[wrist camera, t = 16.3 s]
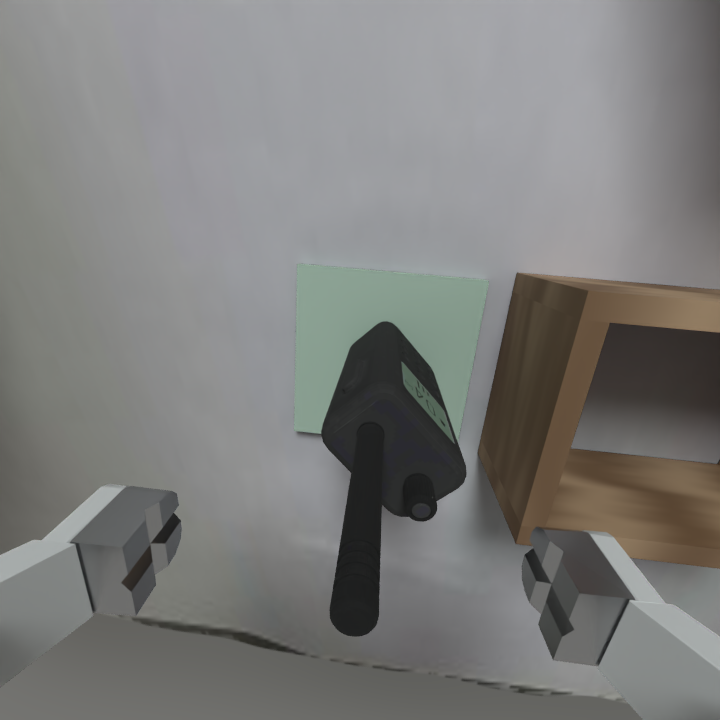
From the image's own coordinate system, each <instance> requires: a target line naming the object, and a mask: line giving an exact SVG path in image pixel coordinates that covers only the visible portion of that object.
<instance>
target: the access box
mask: <svg viewBox="0 0 720 720" xmlns="http://www.w3.org/2000/svg"><path fill="white" fill-rule="evenodd" d="M610 323H619V324H630V325H642V326H653V327H664V328H675V329H686V330H697V331H708V332H719V333H720V290H716V289H704V288H692V287H680V286H668V285H657V284H645V283H633V282H621V281H609V280H598V279H586V278H574V277H562V276H550V275H539V274H527V273H517V275H516V279H515V284H514V288H513V293H512V298H511V302H510V307H509V311H508V316H507V321H506V325H505V330H504V334H503V339H502V344H501V348H500V353H499V357H498V362H497V367H496V371H495V376H494V380H493V385H492V390H491V394H490V399H489V403H488V408H487V413H486V417H485V422H484V426H483V431H482V436H481V440H480V445H479V449H478V455H479V457H480V459H481V462H482V464H483V466H484V469H485V471H486V474H487V476H488V478H489V481H490V483H491V486H492V488H493V490H494V493H495V495H496V497H497V500H498V502H499V505H500V507H501V509H502V512H503V514H504V517H505V519H506V521H507V524H508V526H509V528H510V531H511V533H512V536H513V538H514V540H515V543H516V544H521V545H529V546H532V544H531V542H530V540H529V539H530V536H531V533H532V531H533V530H534V528H535V527H536V526H538V527H549V528H560V529H572V530H580V531H582V530H586V531H599V532H607V533H608V534H610V535H611V536H613V537H614V538H615V539H616V541H617V542H618V543H619V545H620V546H621V547H622V548H623V550H624V551H625V552H626V554H627V555H628V556H629V557H630V558H637V559H645V560H653V561H662V562H670V563H678V564H686V565H695V566H703V567H711V568H719V569H720V461H719V463H718V464H710V463H701V462H692V461H682V460H673V459H664V458H654V457H645V456H636V455H626V454H617V453H608V452H599V451H589V450H580V449H571V445H572V441H573V438H574V435H575V432H576V429H577V426H578V422H579V419H580V416H581V413H582V410H583V407H584V403H585V400H586V397H587V394H588V391H589V388H590V384H591V381H592V378H593V375H594V372H595V369H596V366H597V362H598V359H599V356H600V353H601V350H602V347H603V343H604V340H605V337H606V334H607V331H608V328H609V324H610Z"/></svg>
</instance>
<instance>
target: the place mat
mask: <svg viewBox="0 0 720 720" xmlns="http://www.w3.org/2000/svg"><path fill="white" fill-rule="evenodd" d="M488 284H489V281H488V280H482V279H470V278H458V277H447V276H435V275H424V274H412V273H400V272H389V271H377V270H365V269H354V268H342V267H331V266H319V265H307V264H297V302H296V357H295V411H294V431H300V432H309V433H318V434H321V430H322V425H323V422H324V419H325V417H326V414H327V411H328V408H329V405H330V403H331V400H332V397H333V394H334V391H335V389H336V386H337V383H338V380H339V377H340V375H341V372H342V369H343V366H344V363H345V361H346V358H347V355H348V352H349V349H350V347H351V346H352V345H353V343H355V342H356V341H357V340H358V339H360V338H361V337H362V336H363V335H364V334H366V333H367V332H368V331H369V330H371V329H372V328H373V327H374V326H375V325H377V324H378V323H380V322H383V321H388V322H391V323H393V324H394V325H395V326H397V327H398V329H399V330H400V331H401V332H402V333H403V335H404V336H405V337H406V338H407V339H408V341H409V342H410V343H411V344H412V345H413V347H414V348H415V349H416V350H417V351H418V352H419V354H420V355H421V356H422V357H423V358H424V360H425V361H426V362H427V363H428V364H429V366H430V367H431V368H432V370H433V372H434V375H435V378H436V380H437V383H438V386H439V389H440V392H441V395H442V398H443V401H444V404H445V407H446V410H447V413H448V416H449V418H450V421H451V424H452V427H453V430H454V433H455V436H456V439H457V442H458V439H459V434H460V429H461V424H462V418H463V413H464V408H465V403H466V398H467V393H468V387H469V382H470V377H471V372H472V367H473V362H474V357H475V351H476V346H477V341H478V336H479V331H480V326H481V320H482V315H483V310H484V305H485V300H486V295H487V289H488Z"/></svg>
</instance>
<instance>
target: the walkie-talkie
mask: <svg viewBox="0 0 720 720" xmlns="http://www.w3.org/2000/svg"><path fill="white" fill-rule="evenodd" d="M321 434H322V439H323V442H324V444H325V445H326V447H327V448H328V449H329V450H330V451H331V452H332V454H333V455H334V456H335V457H336V458H337V459H338V460H339V461H340V462H341V463H342V464H343V465H344V466H345V467H346V468H347V469H348V470H349V471H350V472H351V479H350V485H349V491H348V498H347V504H346V510H345V516H344V523H343V529H342V535H341V542H340V548H339V555H338V560H337V567H336V573H335V580H334V585H333V592H332V598H331V604H330V619H331V622H332V623H333V625H334V626H335V628H336V629H337V630H338V631H340V632H341V633H343V634H345V635H348V636H363V635H366V634H367V633H369V632H370V631H371V630H373V628H374V627H375V626H376V624H377V621H378V617H379V582H380V549H381V510H382V505H383V506H384V507H385V508H386V509H387V510H389V511H390V512H391V513H393V514H394V515H397V516H400V517H410V518H411V519H413V520H415V521H427V520H429V519H431V518H432V517H433V516H434V515H435V514H436V511H437V502H436V501H438V500H439V499H441V498H443V497H444V496H446V495H448V494H449V493H451V492H453V491H454V490H456V489H458V488H459V487H460V486H461V485H462V484H463V483H464V480H465V478H466V465H465V462H464V459H463V456H462V453H461V451H460V448H459V445H458V442H457V439H456V436H455V433H454V430H453V427H452V424H451V421H450V418H449V416H448V413H447V410H446V407H445V404H444V401H443V398H442V395H441V392H440V389H439V386H438V383H437V380H436V378H435V375H434V372H433V370H432V368H431V367H430V366H429V364H428V363H427V362H426V361H425V360H424V358H423V357H422V356H421V355H420V354H419V352H418V351H417V350H416V349H415V348H414V347H413V345H412V344H411V343H410V342H409V341H408V339H407V338H406V337H405V336H404V335H403V333H402V332H401V331H400V330H399V329H398V327H397V326H395V325H394V324H393V323H391V322H388V321H383V322H380V323H378V324H377V325H375V326H374V327H373V328H372V329H371V330H369V331H368V332H367V333H366V334H364V335H363V336H362V337H361V338H360V339H358V340H357V341H356V342H355V343H353V345H352V346H351V347H350V349H349V352H348V355H347V358H346V361H345V363H344V366H343V369H342V372H341V375H340V377H339V380H338V383H337V386H336V389H335V391H334V394H333V397H332V400H331V403H330V405H329V408H328V411H327V414H326V417H325V419H324V422H323V425H322V430H321Z"/></svg>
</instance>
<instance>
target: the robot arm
mask: <svg viewBox="0 0 720 720" xmlns="http://www.w3.org/2000/svg"><path fill="white" fill-rule="evenodd" d="M178 506H179V503H178V497H177V493H175V492H173V491H168V490H160V489H152V488H144V487H136V486H123V485H115V484H107V485H104V486H102V487H100V488H99V489H98V490H97V491H96V492H95V493H94V494H92V495H91V496H90V497H89V498H88V499H87V500H86V501H85V502H84V503H82V504H81V505H80V506H79V507H78V508H77V509H76V510H75V511H74V512H72V513H71V514H70V515H69V516H68V517H67V518H66V519H65V520H63V521H62V522H61V523H60V524H59V525H58V526H57V527H56V528H55V529H53V530H52V531H51V532H50V533H49V534H48V535H47V536H46V537H45V538H43V539H42V540H32V541H30V542H28V543H25V544H23V545H21V546H19V547H17V548H15V549H12V550H10V551H8V552H6V553H4V554H1V555H0V687H1V686H2V685H4V684H5V683H6V682H8V681H9V680H10V679H12V678H13V677H14V676H16V675H17V674H18V673H20V672H21V671H22V670H23V669H25V668H26V667H27V666H29V665H30V664H31V663H33V662H34V661H35V660H36V659H38V658H39V657H40V656H41V655H43V654H44V653H46V652H47V651H48V650H49V649H51V648H52V647H53V646H55V645H56V644H57V643H59V642H60V641H61V640H62V639H64V638H65V637H66V636H68V635H69V634H70V633H72V632H73V631H74V630H75V629H77V628H78V627H79V626H81V625H82V624H83V623H84V622H86V621H87V620H88V619H90V618H91V617H92V616H93V613H101V614H115V615H129V616H136V615H137V614H138V612H139V611H140V609H141V607H142V606H143V604H144V603H145V601H146V600H147V598H148V597H149V595H150V593H151V592H152V590H153V589H154V587H155V586H156V579H155V574H157V573H158V572H160V571H161V570H163V569H164V568H166V567H167V566H168V565H169V564H170V562H171V560H172V559H173V557H174V555H175V554H176V551H177V548H178V545H179V543H180V540H181V531H182V527H181V520H180V519H179V518H178V517H177V516H176V515H175V514H174V511H175V510H176V509H177V507H178ZM529 540H530V542H531V544H532V546H533V549H532V550H530V551H529V552H528V553H526V554H525V556H524V559H523V563H522V581H523V586H524V590H525V593H526V595H527V598H528V601H529V603H530V604H531V605H532V606H533V607H534V608H535V609H536V610H537V611H538V612H539V613H540V614H541V617H540V620H539V624H538V625H539V627H540V630H541V632H542V635H543V637H544V639H545V642H546V644H547V647H548V649H549V651H550V654H551V656H552V659H553V660H556V661H563V662H570V663H577V664H585V665H592V666H598V670H599V671H600V672H601V673H602V674H603V676H604V677H605V678H606V679H607V680H608V681H609V682H610V683H611V684H612V686H613V687H614V688H615V689H616V690H617V691H618V692H619V693H620V694H621V696H622V697H623V698H624V699H625V700H626V701H627V702H628V703H629V705H630V706H631V707H632V708H633V709H634V710H635V711H636V712H637V713H638V715H639V716H640V717H641V718H642V719H643V720H720V636H718V635H717V634H715V633H714V632H712V631H711V630H710V629H708V628H707V627H705V626H704V625H702V624H701V623H700V622H698V621H697V620H695V619H694V618H692V617H691V616H690V615H688V614H687V613H685V612H684V611H682V610H681V609H680V608H678V607H677V606H675V605H672V604H666V603H665V602H664V601H663V599H662V598H661V597H660V596H659V594H658V593H657V592H656V590H655V589H654V588H653V587H652V585H651V584H650V583H649V582H648V580H647V579H646V578H645V576H644V575H643V574H642V573H641V571H640V570H639V569H638V568H637V566H636V565H635V564H634V562H633V561H632V560H631V559H630V557H629V556H628V555H627V554H626V552H625V551H624V550H623V548H622V547H621V546H620V545H619V543H618V542H617V541H616V539H615V538H614V537H613V536H611V535H610V534H608V533H607V532H599V531H586V530H582V531H580V530H572V529H560V528H549V527H538V526H536V527H535V528H534V530H533V531H532V533H531V536H530V539H529Z"/></svg>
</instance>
